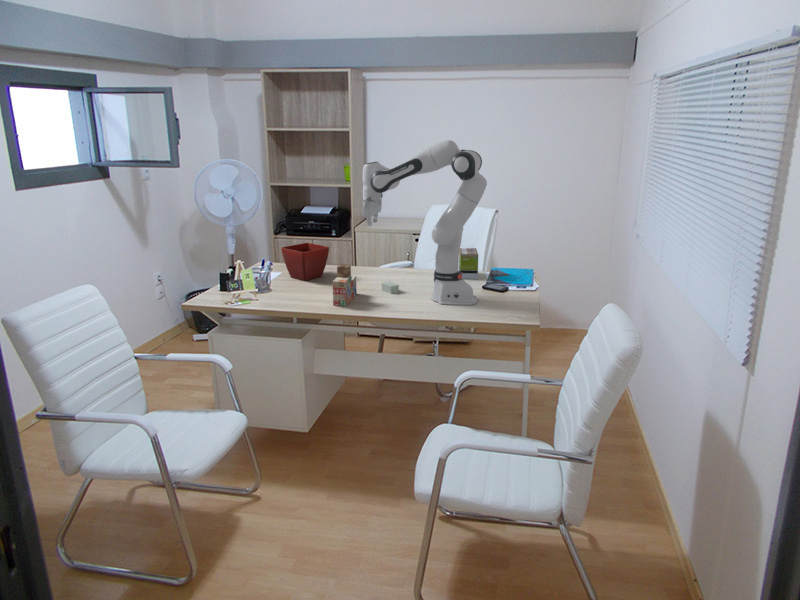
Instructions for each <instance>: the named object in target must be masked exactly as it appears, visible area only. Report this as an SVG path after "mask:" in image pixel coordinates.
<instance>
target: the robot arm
mask: <svg viewBox="0 0 800 600" xmlns="http://www.w3.org/2000/svg"><path fill="white" fill-rule="evenodd" d="M482 164H483V159H482V156H481V154H479V153H478V152H477V151H475V150H470V149H460V148H459V146H458V145H457V143H456V142H455V141H453V140H450V139H449V140H448V139H447V140H444V141H441V142H438V143H435V144H433V145H431V146H428V147H427V148H425V149H423V150H422V151H420V152H419V153H417V154H416V155H415V156H413V157H412V158H410V159H409V160H407V161H406V162H404V163H401V164H399V165H397V166H395V167H393V168H389V167H386V166H384V165H382V164H381V163H380V162H379V161H373V162H372V161H371V162H367V163H365V164H363V167H362V184H363V186H362V199H363V204H362V216H363V218H366V222H367V226H368V227H371V226H372V225H373V223H375V224H376V223H378V218H379V213H381V211H382V204H383V203H382V201H383V199H382V198H383V197H384V196H383V194H384V193H386V192H387V191H391V190H394V189H395V188H397V187H398V186H399V184H400V182H401V181H402V180H404V179H406V178H409V177H411V176H415V175H422V174H423V175H424V174H429V173H432V172H433V173H434V172H436V171H439V170H440V169H443V168H444V167H447V166H451V169H452V170H453V172H454V173H455V174H456V176H457V177H458V178H459V179H460V180H461V184H460V186H459V188H458V190H457V192H456V193H455V195H454V196H453V198H452V200H451V202H450V203H449V205H448V206H447V208H446V209H445V211H444V212H443V214H442V215H441V216H440V218H439V220H438V221H437V222H436V224H435V226H434V227H433V229H432V230H431V238H432V241H433V242H434V244H437V249H436V252H435V266H434V267H435V269H434V272H433V282H434V285H433V290H432V291H433V292H432V295H431V298H430V300H432V301H434V302H436V303H438V304H440V305H449V306H451V305H454V306H456V305H457V306H459V305H460V306H462V305H463V306H473V305H475V304H477V302H478V298H479V297H478V296H477V295H475V294H474V290H473V287H472V285H470V284H469V283H468V282H466V281H465V280H463V279H462V272H459V251H460V248H461V244H462V239H463V238H462V237H463V231H464V226H465V225H466V224H467V221H469V219H470V218H471V216H472V215H473V213H474V211H475V210H476V208H477V206H478V205H479V203H480V201H481V199H482V198H483V195H484V193H485V191H486V188H487V185H488V181H487V179H486V177H484V175H483V174H481V173H480V172H479V171H480V170H481V167H482ZM372 218H373V219H372Z"/></svg>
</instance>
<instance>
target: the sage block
mask: <svg viewBox="0 0 800 600" xmlns="http://www.w3.org/2000/svg"><path fill="white" fill-rule="evenodd" d="M399 286H400V285H399V283H398V284H397V283H394V282H392V281H385V282H381V291H383V292H386V293H388V294H390V295H391V294H395V293H400V291H399Z"/></svg>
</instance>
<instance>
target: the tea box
mask: <svg viewBox="0 0 800 600" xmlns="http://www.w3.org/2000/svg"><path fill="white" fill-rule="evenodd" d="M458 271H459V272H462V279H477V280H478V275H479V274H478V273H479V252H478V250H477V248H476V247H460V251H459V262H458Z"/></svg>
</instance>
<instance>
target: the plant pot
mask: <svg viewBox="0 0 800 600" xmlns="http://www.w3.org/2000/svg"><path fill="white" fill-rule="evenodd" d="M280 249H281V254H282V257H283V261H284V264H285V266H286V269H287V272H288V274H289V276H290V278H292V279H293V278H294V279H297V280H300V281H310V280H312V279H313V280H314V279H318V278H322V277H323V275H324V272H325V269H326V265H327V262H328V257H329V251H330V247H329V246H326V245H321V244H316V243H311V242H303V243H297V244H294V245H293V244H292V245H288V246H287V245H285V246H281V248H280Z"/></svg>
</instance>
